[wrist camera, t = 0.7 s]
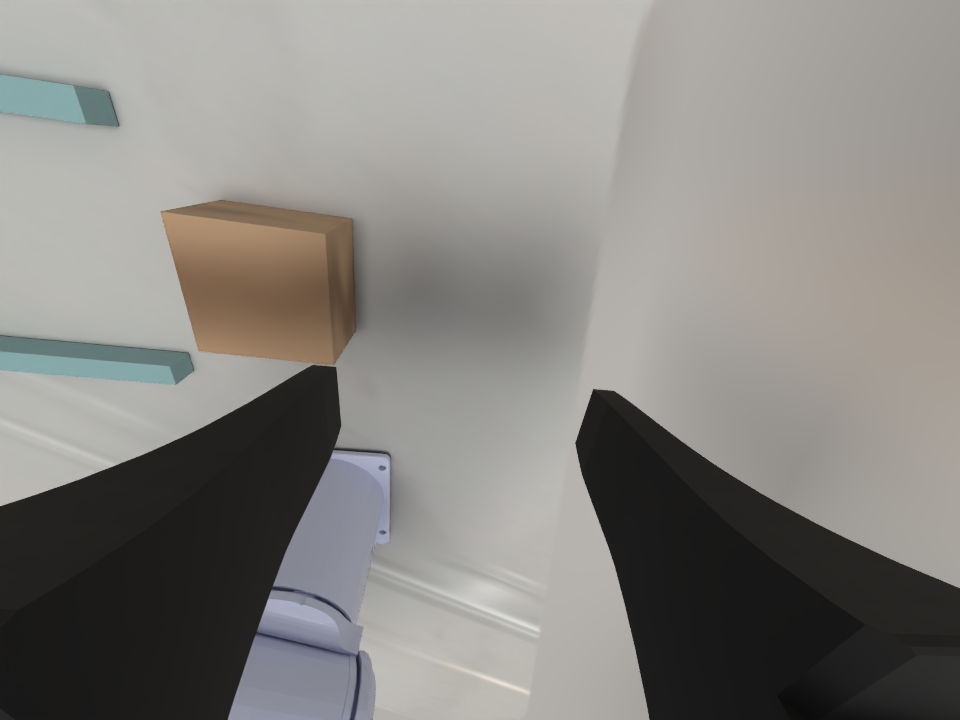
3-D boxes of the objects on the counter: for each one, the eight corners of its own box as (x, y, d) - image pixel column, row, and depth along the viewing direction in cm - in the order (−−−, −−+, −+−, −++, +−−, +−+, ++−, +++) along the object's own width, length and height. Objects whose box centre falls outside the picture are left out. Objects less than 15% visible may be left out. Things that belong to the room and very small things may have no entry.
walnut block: (356, 329, 21) (333, 365, 17) (245, 316, 20) (198, 351, 16) (353, 218, 18) (324, 234, 14) (223, 199, 17) (160, 211, 14)
